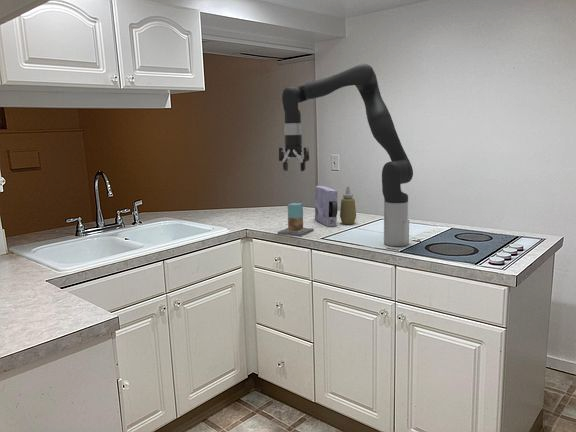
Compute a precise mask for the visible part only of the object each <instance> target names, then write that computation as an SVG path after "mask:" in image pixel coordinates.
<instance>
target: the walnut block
mask: <svg viewBox="0 0 576 432" xmlns="http://www.w3.org/2000/svg"><path fill="white" fill-rule="evenodd" d="M287 228H288V231H296V232H298V231H301V230H303V228H304V216H303V217H301V218H298V219H296V218H288V217H287Z"/></svg>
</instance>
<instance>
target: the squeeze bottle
mask: <svg viewBox="0 0 576 432" xmlns="http://www.w3.org/2000/svg"><path fill="white" fill-rule="evenodd" d="M342 197H343V198H342V199H340V200H341V201H340V211H339V217H340V221H341V223H342V224H343V225H353V224H355V222H356V219H357V210H356V209H357V208H356V200H355V199H354V195H353V193H351V189H350V186H346V189H345V193H344V194H342Z"/></svg>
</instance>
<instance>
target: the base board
mask: <svg viewBox="0 0 576 432" xmlns="http://www.w3.org/2000/svg"><path fill="white" fill-rule="evenodd" d="M314 229H315V228H308V227H303V230H301V231H298V232H296V231H288V227H286V228H284V229H281V230H280V231H277V235H284V236H285V235H286V236H291V237H292V236H293V237H300V238H301V237H303V236H305V235H308V234H310V233H313V232H315V231H314Z"/></svg>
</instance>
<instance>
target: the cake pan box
mask: <svg viewBox="0 0 576 432" xmlns="http://www.w3.org/2000/svg"><path fill="white" fill-rule="evenodd" d="M314 190H315V195H314V196H315V197H314V201H315V202H314V220H315V221H317V222H318V223H320V224H321V225H324V226H326V227H327V228H332V227H337V226H338V225H337V224H338V223H337V220H338V219H337V216H338V209H339V207H338V190H336V189H332V188H330V187H327V186H325V185H316V186H315V189H314Z"/></svg>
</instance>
